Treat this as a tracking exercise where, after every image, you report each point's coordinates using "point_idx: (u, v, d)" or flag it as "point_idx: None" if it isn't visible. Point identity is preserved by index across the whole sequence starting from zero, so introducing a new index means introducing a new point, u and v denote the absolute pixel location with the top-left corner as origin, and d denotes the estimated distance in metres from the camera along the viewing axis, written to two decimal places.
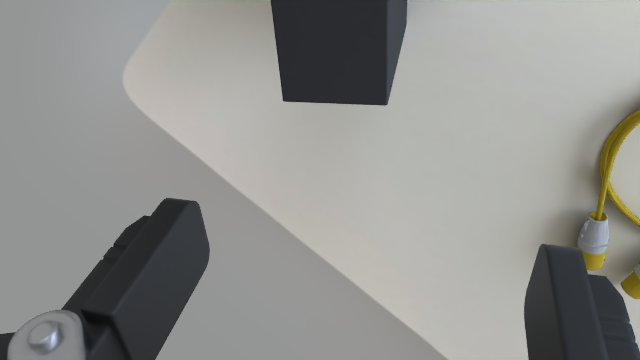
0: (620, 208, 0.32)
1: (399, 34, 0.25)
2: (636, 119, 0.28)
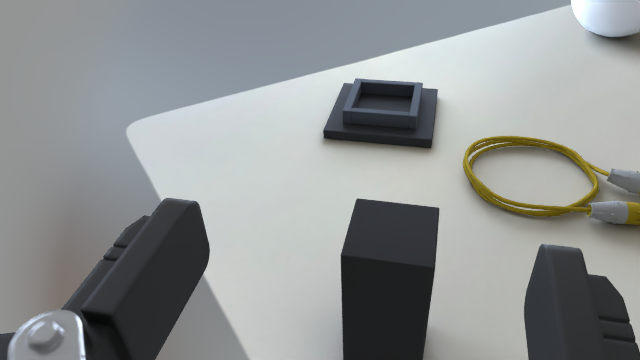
0: (578, 202, 0.41)
1: None
2: (496, 197, 0.42)
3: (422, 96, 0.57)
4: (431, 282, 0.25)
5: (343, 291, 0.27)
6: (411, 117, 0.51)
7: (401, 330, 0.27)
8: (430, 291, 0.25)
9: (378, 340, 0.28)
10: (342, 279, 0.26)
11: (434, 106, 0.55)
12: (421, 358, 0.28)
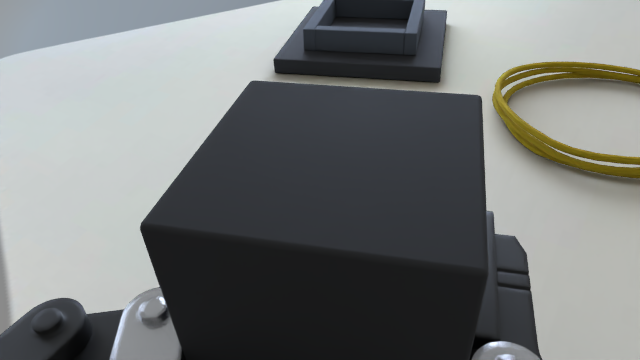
0: None
1: None
2: (556, 146, 0.24)
3: (425, 18, 0.39)
4: (471, 327, 0.06)
5: (184, 346, 0.08)
6: (407, 36, 0.32)
7: None
8: (465, 357, 0.07)
9: None
10: (170, 309, 0.08)
11: (443, 29, 0.37)
12: None
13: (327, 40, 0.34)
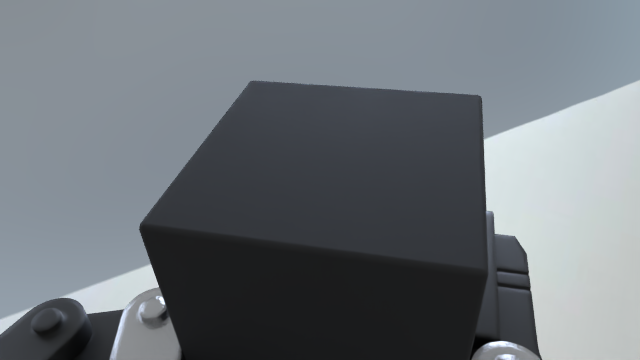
0: None
1: None
2: None
3: None
4: (471, 327, 0.06)
5: (183, 346, 0.08)
6: None
7: None
8: (465, 358, 0.07)
9: None
10: (170, 310, 0.08)
11: None
12: None
13: None
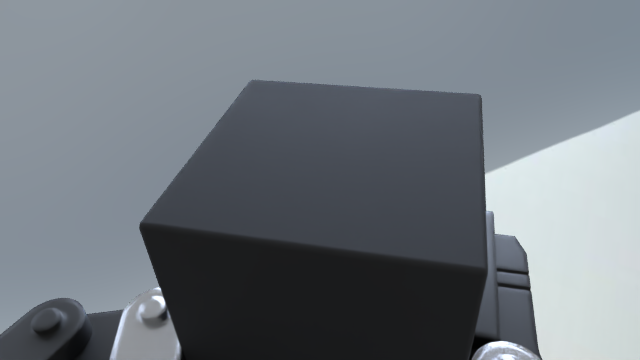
0: None
1: None
2: None
3: None
4: (471, 326, 0.06)
5: (183, 345, 0.08)
6: None
7: None
8: (465, 356, 0.07)
9: None
10: (170, 309, 0.08)
11: None
12: None
13: None
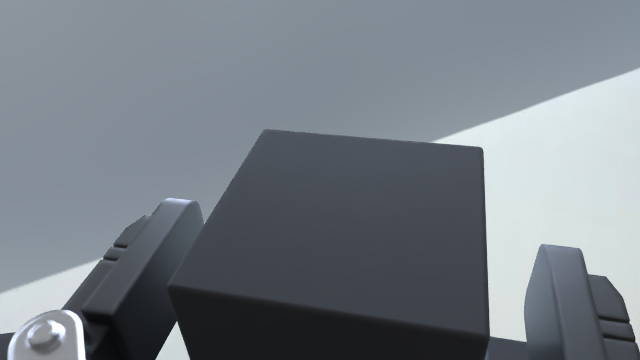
0: None
1: None
2: None
3: None
4: None
5: None
6: None
7: None
8: None
9: None
10: (192, 358, 0.08)
11: None
12: None
13: None
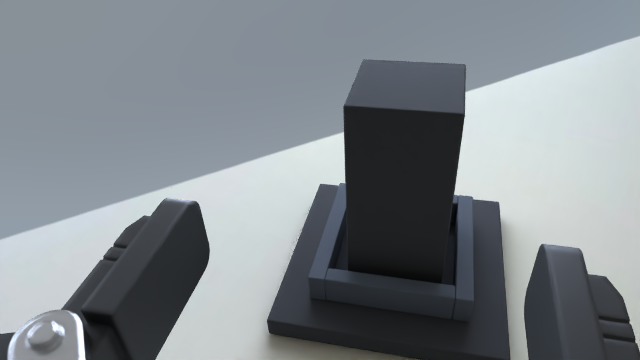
0: None
1: None
2: None
3: None
4: (459, 137, 0.19)
5: (347, 162, 0.21)
6: (459, 302, 0.23)
7: (420, 215, 0.22)
8: (458, 151, 0.20)
9: (390, 233, 0.23)
10: (345, 144, 0.21)
11: (500, 250, 0.27)
12: (444, 255, 0.23)
13: (343, 292, 0.24)
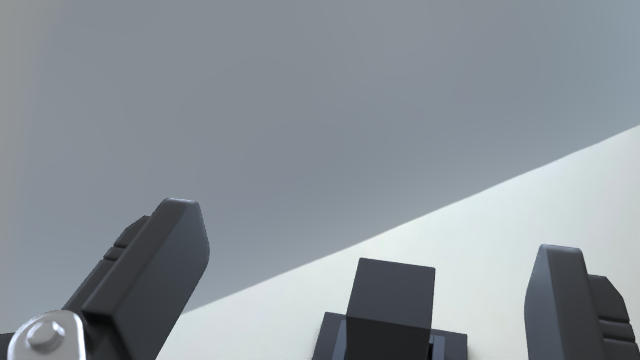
0: None
1: None
2: None
3: (444, 354, 0.37)
4: (427, 341, 0.27)
5: (348, 346, 0.29)
6: None
7: None
8: (427, 349, 0.28)
9: None
10: (347, 336, 0.29)
11: None
12: None
13: None
